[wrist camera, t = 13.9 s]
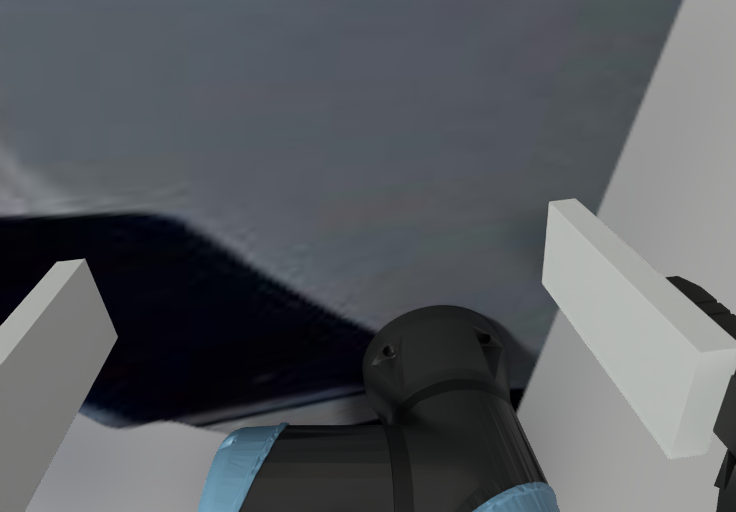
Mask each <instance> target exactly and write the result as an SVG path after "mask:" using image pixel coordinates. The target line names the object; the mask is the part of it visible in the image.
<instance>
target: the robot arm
mask: <svg viewBox="0 0 736 512" xmlns="http://www.w3.org/2000/svg"><path fill="white" fill-rule="evenodd" d="M542 284H543V285H544V286H545V288H546V289H547V291H548V292H549V293H550V295H551V296H552V298H553V299H554V300H555V302H556V303H557V304H558V306H559V307H560V309H561V310H562V311H563V313H564V314H565V316H566V317H567V318H568V320H569V321H570V322H571V324H572V325H573V326H574V328H575V329H576V331H577V332H578V333H579V335H580V336H581V338H582V339H583V340H584V342H585V343H586V345H587V346H588V347H589V349H590V350H591V352H592V353H593V354H594V356H595V357H596V358H597V360H598V361H599V363H600V364H601V365H602V367H603V368H604V370H605V371H606V372H607V374H608V375H609V377H610V378H611V379H612V381H613V382H614V383H615V385H616V386H617V388H618V389H619V390H620V392H621V393H622V394H623V396H624V397H625V399H626V400H627V401H628V403H629V404H630V406H631V407H632V408H633V410H634V411H635V413H636V414H637V415H638V417H639V418H640V419H641V421H642V422H643V424H644V425H645V426H646V428H647V429H648V431H649V432H650V433H651V435H652V436H653V437H654V439H655V440H656V442H657V443H658V444H659V446H660V447H661V449H662V450H663V451H664V453H665V454H666V456H667V457H668V458H669V459H675V458H683V457H690V456H697V455H704V454H707V451H708V448H709V445H710V442H711V440H712V437H713V434H714V433H715V434H716V435H717V436H718V438H719V439H720V440H721V441H722V442H723V443H724V445H725V446H726V447H727V448H728V449H727V452H726V455H725V457H724V460H723V463H722V465H721V468H720V471H719V474H718V476H717V479H716V482H715V484H714V486H716V487H718V488H720V489H719V496H718V503H717V510H716V512H736V316H735V315H734V314H731V313H730V310H728V309H727V308H726V307H724V306H723V305H722V304H721V303H717V300H716V299H715V298H714V297H713V296H711V295H710V294H709V293H708V292H706V291H705V290H704V289H703V288H702V287H700V286H698V285H696V284H694V283H692V282H690V281H688V280H685V279H683V278H681V277H679V276H674V277H666V278H665V277H663V276H662V275H661V274H660V273H659V272H658V271H657V270H656V269H654V268H653V267H652V266H651V265H649V263H648V262H646V261H645V260H644V259H643V258H642V257H641V256H640V255H639V254H637V253H636V252H635V251H634V250H633V249H632V248H631V247H630V246H629V245H627V244H626V243H625V242H624V241H623V240H622V239H621V238H619V237H618V236H617V235H616V234H615V233H614V232H612V230H610V229H609V228H608V227H607V226H606V225H605V224H604V223H602V222H601V221H600V220H599V219H598V218H597V217H596V216H595V215H593V214H592V213H591V212H590V211H589V210H588V209H587V208H586V207H584V206H583V205H582V204H581V203H580V202H579V201H578V200H577V199H568V200H560V201H552V202H549V209H548V221H547V232H546V243H545V254H544V265H543V277H542ZM117 338H118V337H117V334H116V332H115V329H114V327H113V325H112V322H111V320H110V318H109V315H108V313H107V310H106V308H105V306H104V303H103V301H102V299H101V296H100V294H99V291H98V289H97V287H96V284H95V282H94V280H93V277H92V275H91V272H90V270H89V268H88V265H87V263H86V261H85V259H79V260H71V261H63V262H57V263H56V264H55V265H54V266H53V267H52V268H51V269H50V271H49V272H48V273H47V274H46V275H45V276H44V277H43V279H42V280H41V281H40V282H39V283H38V284H37V285H36V286H35V288H34V289H33V290H32V291H31V292H30V293H29V294H28V296H27V297H26V298H25V299H24V300H23V301H22V302H21V304H20V305H19V306H18V307H17V308H16V309H15V310H14V312H13V313H12V314H11V315H10V316H9V317H8V318H7V320H6V321H5V322H4V323H3V324H2V325H1V326H0V512H25V510H26V508H27V506H28V504H29V502H30V500H31V499H32V497H33V495H34V493H35V491H36V489H37V487H38V485H39V484H40V482H41V480H42V478H43V476H44V474H45V472H46V471H47V468H48V467H49V465H50V463H51V461H52V459H53V457H54V455H55V454H56V452H57V450H58V448H59V446H60V444H61V442H62V441H63V439H64V437H65V435H66V433H67V431H68V429H69V427H70V425H71V424H72V422H73V420H74V418H75V416H76V414H77V412H78V411H79V409H80V407H81V405H82V403H83V401H84V399H85V398H86V396H87V394H88V392H89V390H90V388H91V386H92V384H93V383H94V381H95V379H96V377H97V375H98V373H99V371H100V369H101V368H102V366H103V364H104V362H105V360H106V358H107V356H108V354H109V353H110V351H111V349H112V347H113V345H114V343H115V341H116V339H117ZM362 370H363V380H364V387H365V392H366V395H367V398H368V400H369V402H370V404H371V406H372V407H373V409H374V411H375V412H376V414H377V415H378V417H379V419H380V420H381V422H382V424H383V425H289V423H286V422H284V423H281V424H280V425H277V426H259V427H244V428H240V429H237V430H235V431H234V432H232V433H231V434H230V435H228V436H227V438H226V439H225V440H224V441H223V442H222V444H221V445H220V447H219V449H218V451H217V453H216V455H215V457H214V460H213V462H212V465H211V467H210V470H209V473H208V476H207V479H206V482H205V485H204V488H203V492H202V495H201V499H200V503H199V507H198V511H197V512H560V511H559V508H558V505H557V502H556V495H555V493H554V491H553V489H552V488H551V487H550V486H549V485H548V482H547V480H546V478H545V476H544V474H543V471H542V470H541V467H540V465H539V463H538V461H537V459H536V456H535V454H534V452H533V450H532V448H531V446H530V443H529V441H528V439H527V437H526V435H525V433H524V431H523V428H522V426H521V424H520V422H519V420H518V418H517V415H516V413H515V411H514V409H513V407H512V405H511V402H510V376H509V359H508V355H507V351H506V349H505V346H504V344H503V342H502V340H501V338H500V336H499V334H498V332H497V331H496V329H495V328H494V327H493V326H492V324H491V323H490V322H488V321H487V320H486V319H485V318H483V317H482V316H480V315H479V314H477V313H475V312H472V311H470V310H467V309H464V308H459V307H454V306H431V307H425V308H421V309H417V310H414V311H411V312H408V313H406V314H403V315H401V316H399V317H398V318H396V319H394V320H393V321H391V322H390V323H388V324H387V325H386V326H385V327H383V328H382V329H381V330H380V331H379V332H378V333H377V334H376V336H375V337H374V338H373V339H372V341H371V342H370V344H369V346H368V348H367V350H366V352H365V355H364V359H363V367H362Z"/></svg>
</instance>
